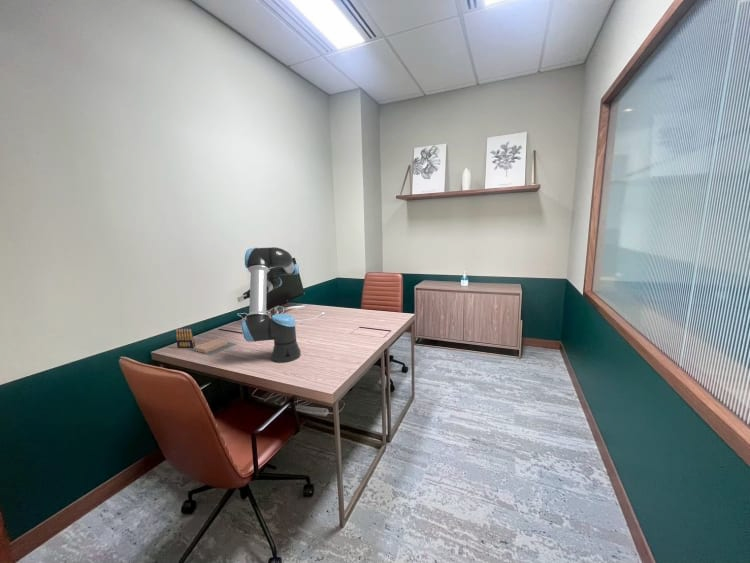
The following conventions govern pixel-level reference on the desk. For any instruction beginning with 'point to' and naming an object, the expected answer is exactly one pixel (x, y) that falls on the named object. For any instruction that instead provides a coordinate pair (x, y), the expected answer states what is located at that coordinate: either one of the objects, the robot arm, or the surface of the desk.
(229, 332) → the desk surface
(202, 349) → the pale rectangular block
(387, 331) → the desk surface
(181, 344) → the ammunition clip
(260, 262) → the robot arm
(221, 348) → the rubber mat
